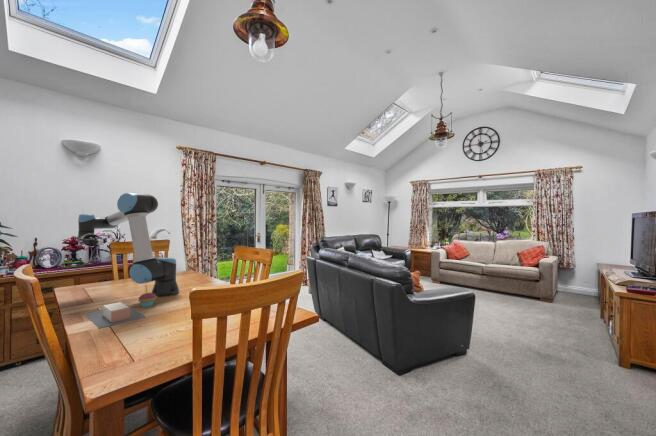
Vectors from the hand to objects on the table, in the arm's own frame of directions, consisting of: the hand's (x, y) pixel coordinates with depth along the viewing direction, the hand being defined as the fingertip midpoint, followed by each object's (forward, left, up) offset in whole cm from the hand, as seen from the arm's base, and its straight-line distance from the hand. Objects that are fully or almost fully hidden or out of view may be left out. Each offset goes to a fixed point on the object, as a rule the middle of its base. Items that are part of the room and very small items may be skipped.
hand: (101, 242), depth 150 cm
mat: (-12, +22, -35) cm, 43 cm away
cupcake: (-24, +11, -35) cm, 44 cm away
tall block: (-11, +19, -32) cm, 39 cm away
